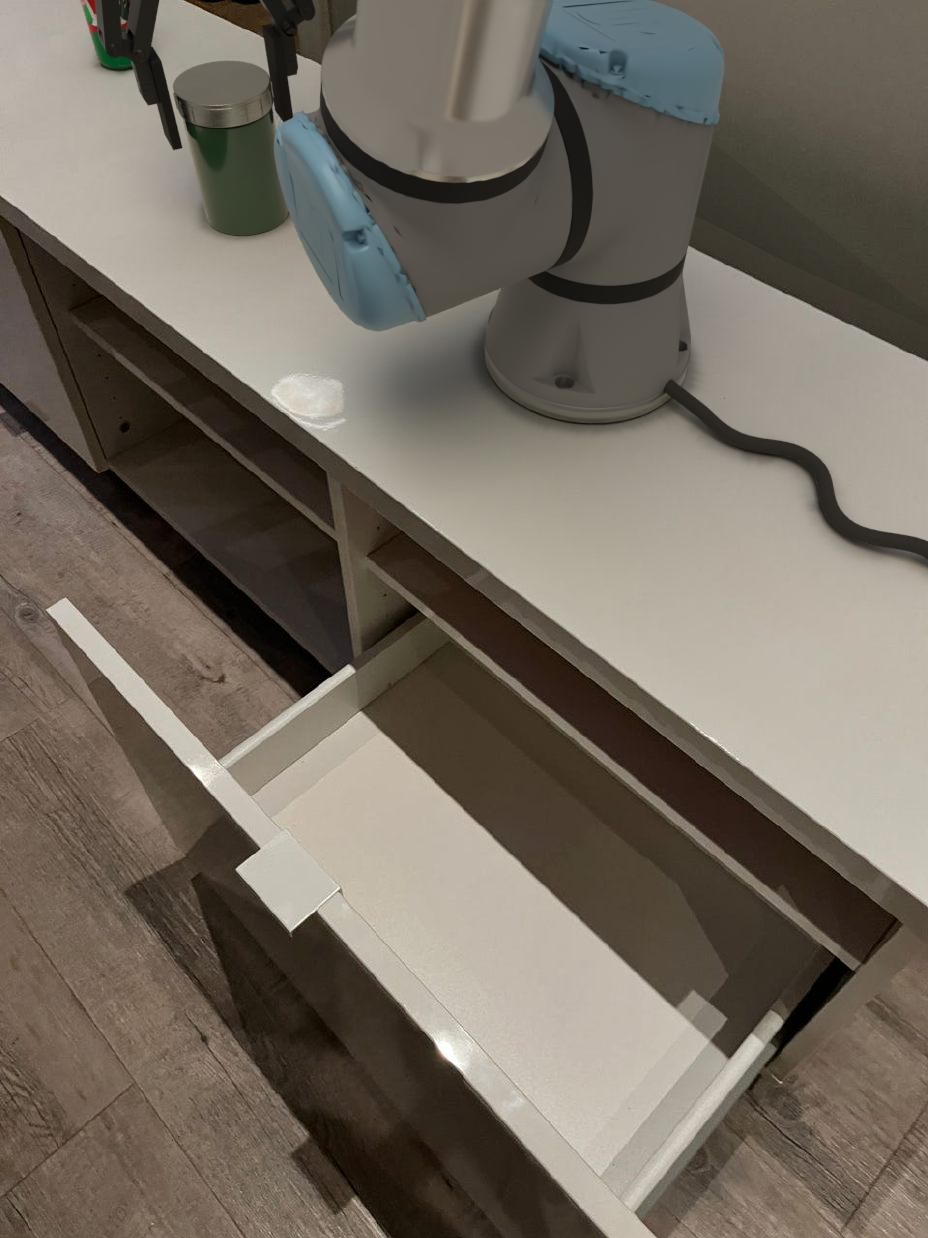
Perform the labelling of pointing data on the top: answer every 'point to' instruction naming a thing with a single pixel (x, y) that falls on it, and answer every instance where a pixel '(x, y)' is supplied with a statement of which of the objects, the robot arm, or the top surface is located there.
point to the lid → (223, 94)
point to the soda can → (102, 55)
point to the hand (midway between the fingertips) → (229, 128)
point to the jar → (238, 176)
